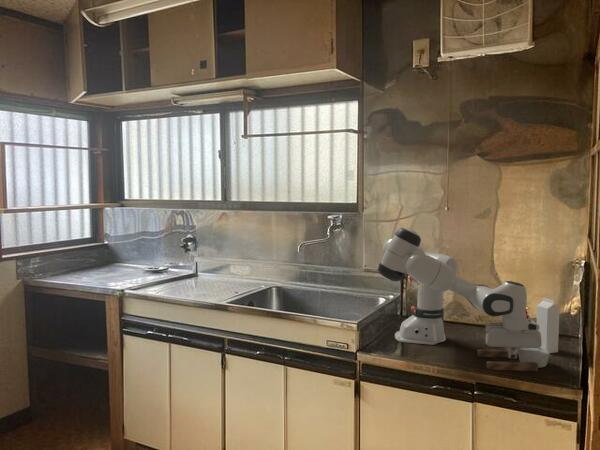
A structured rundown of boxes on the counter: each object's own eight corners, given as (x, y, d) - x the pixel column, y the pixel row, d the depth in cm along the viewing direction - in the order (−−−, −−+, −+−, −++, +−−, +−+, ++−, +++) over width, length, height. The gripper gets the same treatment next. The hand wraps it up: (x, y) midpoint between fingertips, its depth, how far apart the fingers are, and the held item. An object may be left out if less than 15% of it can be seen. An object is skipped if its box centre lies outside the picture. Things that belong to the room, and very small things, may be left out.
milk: (546, 353, 204) (547, 301, 202) (535, 349, 209) (536, 297, 207) (558, 352, 205) (560, 299, 203) (547, 347, 211) (548, 296, 209)
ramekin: (556, 367, 188) (556, 353, 188) (531, 370, 185) (532, 356, 185) (534, 357, 199) (534, 344, 199) (511, 360, 196) (511, 347, 196)
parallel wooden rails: (487, 369, 187) (488, 363, 186) (477, 355, 202) (477, 349, 202) (537, 371, 185) (538, 364, 185) (523, 356, 201) (523, 350, 200)
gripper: (487, 324, 190) (486, 359, 191) (543, 326, 187) (542, 361, 189) (483, 320, 196) (482, 354, 197) (537, 321, 194) (536, 356, 195)
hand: (512, 358), depth 193 cm, fingers closed
